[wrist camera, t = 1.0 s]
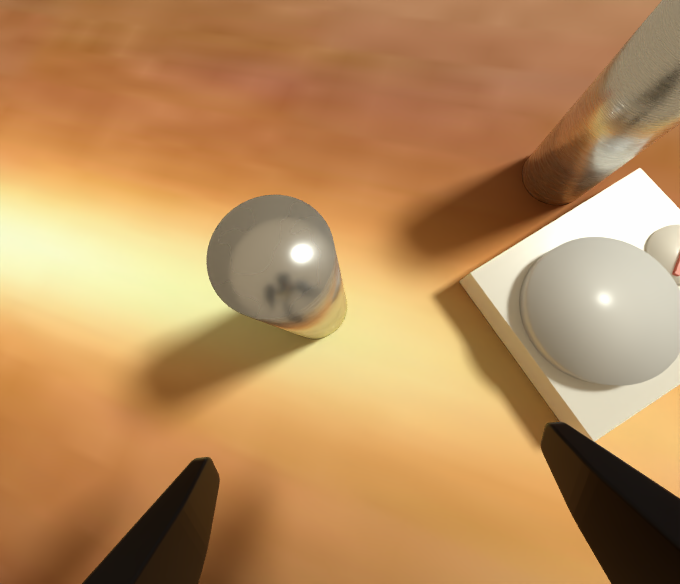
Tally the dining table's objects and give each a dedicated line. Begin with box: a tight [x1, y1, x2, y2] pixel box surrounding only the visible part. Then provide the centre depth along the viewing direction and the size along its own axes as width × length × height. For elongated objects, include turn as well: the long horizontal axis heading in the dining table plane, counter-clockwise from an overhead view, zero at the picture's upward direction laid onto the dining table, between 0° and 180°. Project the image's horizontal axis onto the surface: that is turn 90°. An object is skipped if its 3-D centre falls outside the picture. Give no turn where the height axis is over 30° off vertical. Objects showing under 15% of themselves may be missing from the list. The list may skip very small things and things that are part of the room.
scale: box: [459, 168, 680, 442], centre depth 21 cm, size 14×12×3 cm
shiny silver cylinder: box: [207, 195, 347, 339], centre depth 17 cm, size 5×5×12 cm
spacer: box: [522, 0, 680, 205], centre depth 18 cm, size 5×5×12 cm
